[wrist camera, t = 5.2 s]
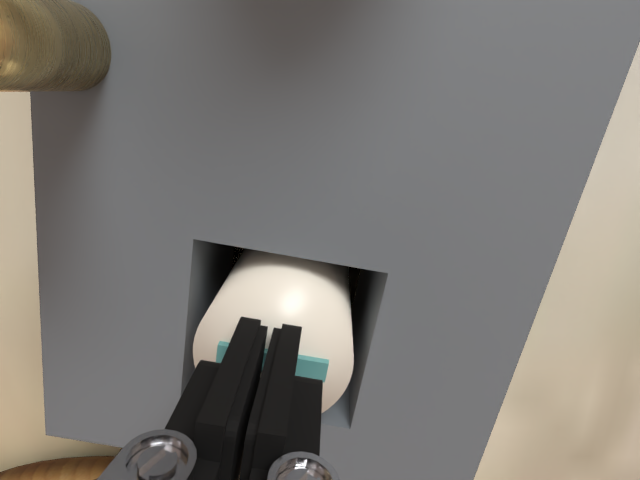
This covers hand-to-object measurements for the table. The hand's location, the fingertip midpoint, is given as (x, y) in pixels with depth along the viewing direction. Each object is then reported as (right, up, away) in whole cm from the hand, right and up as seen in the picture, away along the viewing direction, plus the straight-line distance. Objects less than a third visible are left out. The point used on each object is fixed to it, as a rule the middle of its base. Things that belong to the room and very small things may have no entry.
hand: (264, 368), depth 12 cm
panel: (+2, +9, +4) cm, 10 cm away
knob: (0, +2, +6) cm, 7 cm away
